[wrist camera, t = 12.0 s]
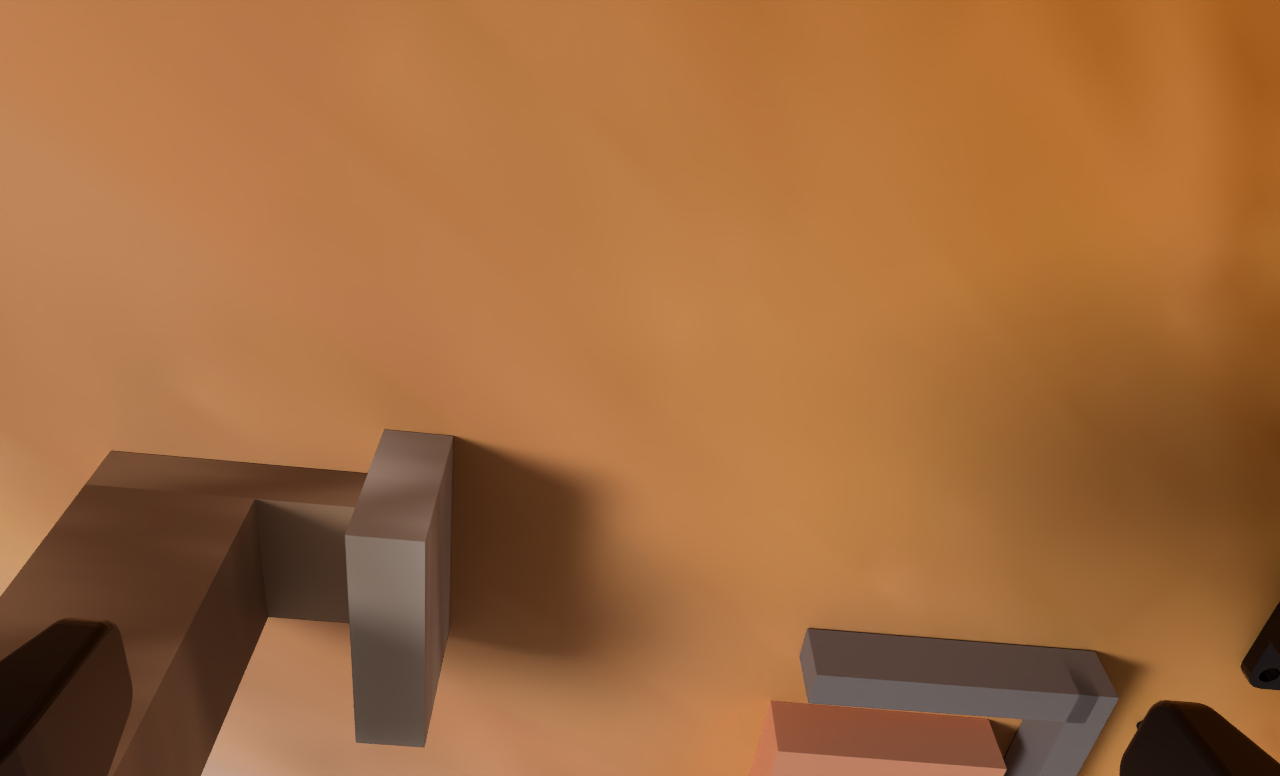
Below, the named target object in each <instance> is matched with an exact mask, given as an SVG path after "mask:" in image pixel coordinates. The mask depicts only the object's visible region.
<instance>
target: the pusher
mask: <svg viewBox="0 0 1280 776" xmlns="http://www.w3.org/2000/svg"><path fill="white" fill-rule="evenodd" d="M452 468H453V436H449V435H438V434H427V433H416V432H405V431H394V430H384V431H383V434H382V437H381V439H380V442H379V445H378V447H377V450H376V453H375V455H374V458H373V461H372V463H371V466H370V469H369V472H368V474H367V473H356V472H345V471H333V470H322V469H311V468H299V467H288V466H277V465H265V464H254V463H243V462H231V461H220V460H209V459H197V458H186V457H175V456H163V455H152V454H141V453H129V452H118V451H110V452H109V454H108V455H107V456H106V458H105V459H104V460H103V462H102V463H101V464H100V466H99V467H98V468H97V470H96V471H95V472H94V474H93V475H92V476H91V478H90V479H89V480H88V482H87V483H86V484H85V486H84V487H83V488H82V489H81V491H80V492H79V493H78V495H77V496H76V497H75V499H74V500H73V501H72V503H71V504H70V505H69V507H68V508H67V509H66V511H65V512H64V513H63V515H62V516H61V517H60V519H59V520H58V521H57V523H56V524H55V525H54V527H53V528H52V529H51V531H50V532H49V533H48V535H47V536H46V537H45V538H44V540H43V541H42V542H41V544H40V545H39V546H38V548H37V549H36V550H35V552H34V553H33V554H32V556H31V557H30V558H29V560H28V561H27V562H26V564H25V565H24V566H23V568H22V569H21V570H20V572H19V573H18V574H17V576H16V577H15V578H14V580H13V581H12V582H11V584H10V585H9V586H8V587H7V589H6V590H5V591H4V593H3V594H2V595H1V597H0V659H1V658H3V657H4V656H6V655H7V654H9V653H10V652H12V651H13V650H15V649H16V648H17V647H19V646H20V645H22V644H23V643H25V642H26V641H28V640H29V639H30V638H32V637H33V636H35V635H36V634H38V633H39V632H41V631H42V630H43V629H45V628H46V627H48V626H49V625H51V624H52V623H54V622H56V621H58V620H60V619H63V618H67V617H78V618H91V619H104V620H109V621H113V622H114V623H115V624H116V625H117V626H118V627H119V630H120V633H121V636H122V640H123V645H124V649H125V654H126V658H127V663H128V667H129V672H130V676H131V681H132V686H133V699H132V706H131V711H130V714H129V718H128V721H127V723H126V726H125V729H124V732H123V735H122V738H121V740H120V743H119V746H118V749H117V752H116V755H115V758H114V760H113V763H112V766H111V769H110V772H109V775H108V776H201V774H202V771H203V769H204V767H205V764H206V762H207V759H208V757H209V755H210V752H211V750H212V748H213V745H214V743H215V741H216V738H217V736H218V734H219V731H220V729H221V727H222V724H223V722H224V719H225V717H226V715H227V712H228V710H229V708H230V705H231V703H232V701H233V698H234V696H235V694H236V691H237V689H238V687H239V684H240V682H241V679H242V677H243V675H244V672H245V670H246V668H247V665H248V663H249V661H250V658H251V656H252V654H253V651H254V649H255V647H256V644H257V642H258V639H259V637H260V635H261V632H262V630H263V628H264V625H265V623H266V621H267V618H268V617H276V618H289V619H302V620H314V621H327V622H340V623H350V640H351V659H352V678H353V697H354V716H355V735H356V743H369V744H383V745H398V746H412V747H425V742H426V738H427V733H428V728H429V723H430V719H431V714H432V709H433V704H434V700H435V695H436V690H437V685H438V681H439V676H440V671H441V666H442V662H443V657H444V652H445V647H446V643H447V638H448V633H449V610H450V562H451V515H452Z"/></svg>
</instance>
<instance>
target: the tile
mask: <svg viewBox="0 0 1280 776" xmlns="http://www.w3.org/2000/svg"><path fill="white" fill-rule="evenodd" d="M1006 770H1007V768H1006V765H1005V763H1004V760H1003V757H1002V755H1001V752H1000V749H999V747H998V744H997V741H996V738H995V736H994V733H993V730H992V728H991V725H990V722H989V720H988V719H983V718H971V717H959V716H947V715H935V714H923V713H911V712H899V711H887V710H875V709H863V708H851V707H839V706H828V705H816V704H804V703H792V702H780V701H770V704H769V708H768V711H767V715H766V718H765V722H764V725H763V728H762V732H761V735H760V739H759V742H758V745H757V749H756V752H755V756H754V759H753V762H752V766H751V769H750V773H749V776H1004V774H1005V772H1006Z"/></svg>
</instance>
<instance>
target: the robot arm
mask: <svg viewBox="0 0 1280 776" xmlns="http://www.w3.org/2000/svg"><path fill="white" fill-rule="evenodd" d="M1241 670H1242V672H1243V674H1244V675H1245V677H1246V678H1247V680H1248V681H1249V683H1250V684H1251V685H1252V686H1254V687H1256V688H1260V689H1272V690H1280V602H1279V604H1278V605H1277V607H1276V609H1275V610H1274V612H1273V614H1272V615H1271V617H1270V618H1269V620H1268V622H1267V623H1266V625H1265V626H1264V628H1263V630H1262V631H1261V633H1260V634H1259V636H1258V638H1257V639H1256V641H1255V642H1254V644H1253V646H1252V647H1251V649H1250V650H1249V652H1248V654H1247V655H1246V657H1245V658H1244V660H1243V662H1242V664H1241ZM132 699H133V686H132V681H131V676H130V672H129V667H128V663H127V658H126V654H125V649H124V645H123V640H122V636H121V633H120V630H119V627H118V626H117V625H116V624H115V623H114V622H113V621H109V620H104V619H91V618H78V617H67V618H63V619H60V620H58V621H56V622H54V623H52V624H51V625H49V626H48V627H46V628H45V629H43V630H42V631H41V632H39V633H38V634H36V635H35V636H33V637H32V638H30V639H29V640H28V641H26V642H25V643H23V644H22V645H20V646H19V647H17V648H16V649H15V650H13V651H12V652H10V653H9V654H7V655H6V656H4V657H3V658H1V659H0V776H108V775H109V772H110V769H111V766H112V763H113V760H114V758H115V755H116V752H117V749H118V746H119V743H120V740H121V738H122V735H123V732H124V729H125V726H126V723H127V721H128V718H129V714H130V711H131V706H132ZM1120 776H1280V764H1279V763H1278V762H1277V761H1276V760H1274V759H1273V758H1272V757H1271V756H1270V755H1268V754H1267V753H1266V752H1265V751H1264V750H1262V749H1261V748H1260V747H1259V746H1257V745H1256V744H1255V743H1254V742H1253V741H1251V740H1250V739H1249V738H1248V737H1246V736H1245V735H1244V734H1243V733H1242V732H1240V731H1239V730H1238V729H1237V728H1236V727H1234V726H1233V725H1232V724H1231V723H1229V722H1228V721H1227V720H1226V719H1225V718H1223V717H1222V716H1221V715H1220V714H1218V713H1217V712H1216V711H1215V710H1213V709H1212V708H1210V707H1208V706H1206V705H1204V704H1201V703H1195V702H1182V701H1169V700H1164V701H1159V702H1157V703H1156V704H1154V705H1153V706H1152V707H1151V708H1150V709H1149V711H1148V713H1147V714H1146V716H1145V718H1144V719H1143V721H1142V723H1141V725H1140V726H1139V728H1138V730H1137V732H1136V733H1135V735H1134V737H1133V739H1132V740H1131V742H1130V744H1129V746H1128V747H1127V749H1126V751H1125V752H1124V754H1123V757H1122V760H1121V764H1120Z"/></svg>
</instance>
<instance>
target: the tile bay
mask: <svg viewBox="0 0 1280 776" xmlns="http://www.w3.org/2000/svg"><path fill="white" fill-rule="evenodd" d="M800 661H801V666H802V672H803V677H804V682H805V688H806V693H807V698H808V703H812V704H825V705H839V706H853V707H866V708H880V709H893V710H907V711H920V712H934V713H947V714H961V715H974V716H988V717H1001V718H1015V719H1023V721H1022V723H1021V725H1020V727H1019V729H1018V731H1017V733H1016V735H1015V738H1014V740H1013V742H1012V744H1011V746H1010V748H1009V750H1008V752H1007V754H1006V756H1005V758H1004V763H1005V765H1006V768H1007V770H1006V772H1005V774H1004V776H1077V774H1078V772H1079V770H1080V769H1081V767H1082V765H1083V763H1084V761H1085V759H1086V758H1087V756H1088V754H1089V752H1090V750H1091V748H1092V747H1093V745H1094V743H1095V741H1096V739H1097V738H1098V736H1099V734H1100V732H1101V730H1102V728H1103V727H1104V725H1105V723H1106V721H1107V719H1108V717H1109V716H1110V714H1111V712H1112V710H1113V708H1114V706H1115V705H1116V703H1117V701H1118V699H1119V697H1118V695H1117V693H1116V691H1115V689H1114V687H1113V685H1112V683H1111V681H1110V679H1109V678H1108V676H1107V674H1106V672H1105V670H1104V668H1103V666H1102V664H1101V662H1100V660H1099V658H1098V656H1097V654H1096V653H1095V651H1084V650H1072V649H1059V648H1046V647H1034V646H1021V645H1008V644H996V643H983V642H970V641H958V640H945V639H932V638H920V637H907V636H894V635H882V634H869V633H856V632H844V631H831V630H819V629H807V632H806V636H805V639H804V643H803V646H802V650H801V653H800Z"/></svg>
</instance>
